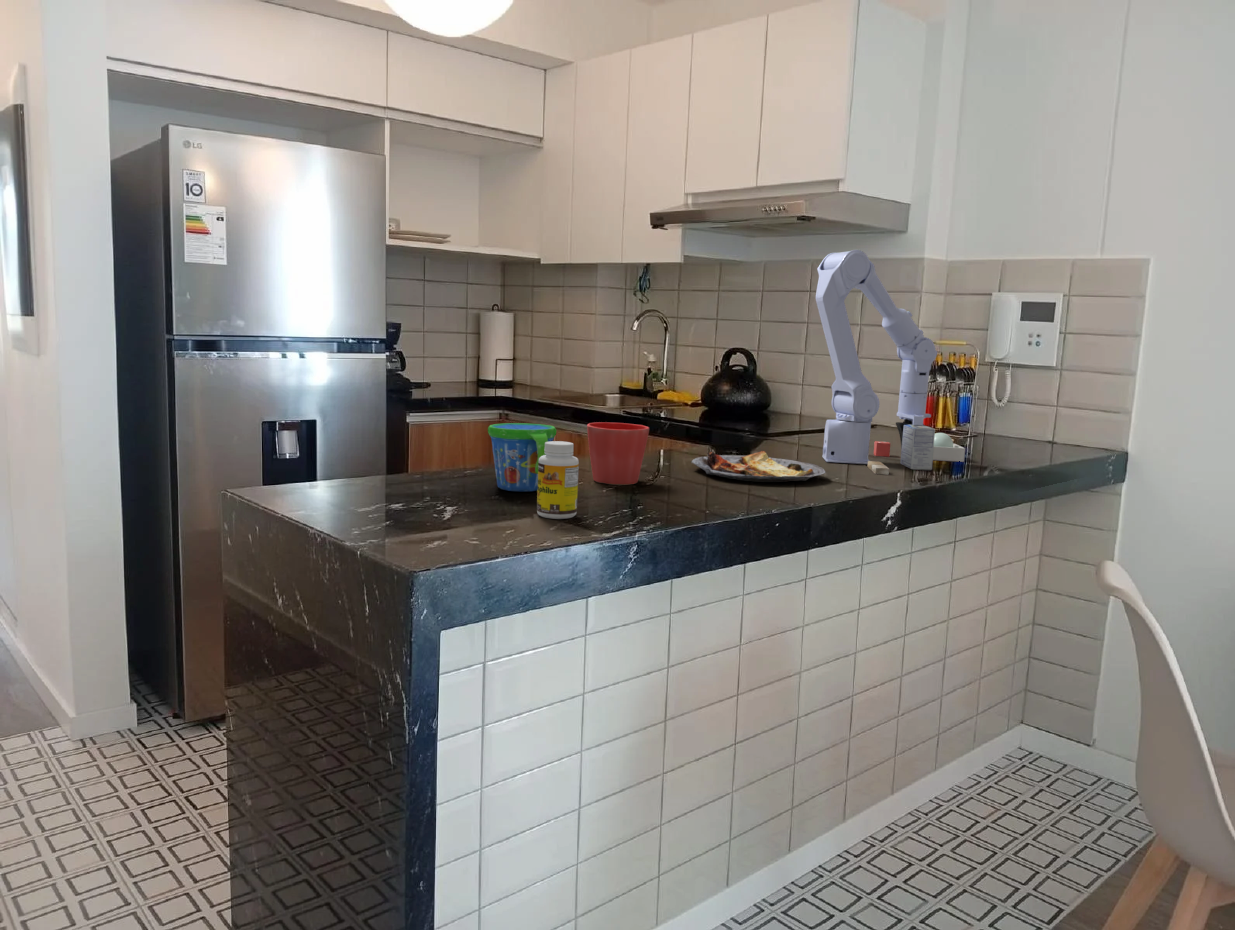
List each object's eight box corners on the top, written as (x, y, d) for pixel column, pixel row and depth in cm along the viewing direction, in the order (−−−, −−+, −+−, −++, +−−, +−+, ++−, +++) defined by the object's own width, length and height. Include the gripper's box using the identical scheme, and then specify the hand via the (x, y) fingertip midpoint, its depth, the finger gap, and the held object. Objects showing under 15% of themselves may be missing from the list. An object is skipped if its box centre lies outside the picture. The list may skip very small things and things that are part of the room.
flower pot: (659, 482, 160) (662, 426, 158) (616, 489, 152) (619, 430, 150) (615, 474, 167) (617, 420, 165) (571, 479, 159) (573, 423, 157)
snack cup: (474, 482, 152) (475, 420, 151) (534, 479, 157) (535, 420, 156) (505, 499, 139) (507, 432, 137) (570, 496, 143) (572, 431, 142)
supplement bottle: (528, 514, 128) (530, 441, 127) (558, 510, 132) (560, 439, 131) (554, 521, 124) (557, 446, 123) (585, 517, 128) (587, 444, 127)
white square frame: (923, 459, 206) (924, 446, 206) (914, 454, 215) (916, 441, 214) (963, 461, 205) (965, 448, 205) (953, 456, 214) (955, 443, 214)
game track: (875, 473, 181) (876, 467, 181) (867, 466, 191) (867, 461, 190) (888, 474, 181) (889, 468, 181) (879, 467, 190) (880, 461, 190)
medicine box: (932, 470, 189) (936, 428, 188) (910, 469, 189) (914, 427, 188) (920, 465, 197) (924, 424, 196) (899, 464, 197) (903, 423, 196)
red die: (875, 455, 209) (876, 442, 209) (873, 454, 212) (874, 440, 212) (889, 456, 209) (890, 443, 208) (886, 454, 212) (888, 441, 211)
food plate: (674, 464, 182) (675, 446, 181) (779, 464, 189) (781, 447, 189) (727, 490, 159) (729, 469, 158) (845, 489, 166) (847, 470, 165)
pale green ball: (929, 458, 208) (931, 433, 207) (923, 454, 213) (925, 430, 212) (954, 459, 207) (957, 434, 206) (948, 456, 213) (950, 432, 212)
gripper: (940, 396, 192) (934, 460, 194) (924, 391, 206) (919, 452, 208) (905, 394, 192) (900, 458, 194) (892, 390, 207) (887, 450, 209)
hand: (907, 455), depth 201 cm, fingers closed
